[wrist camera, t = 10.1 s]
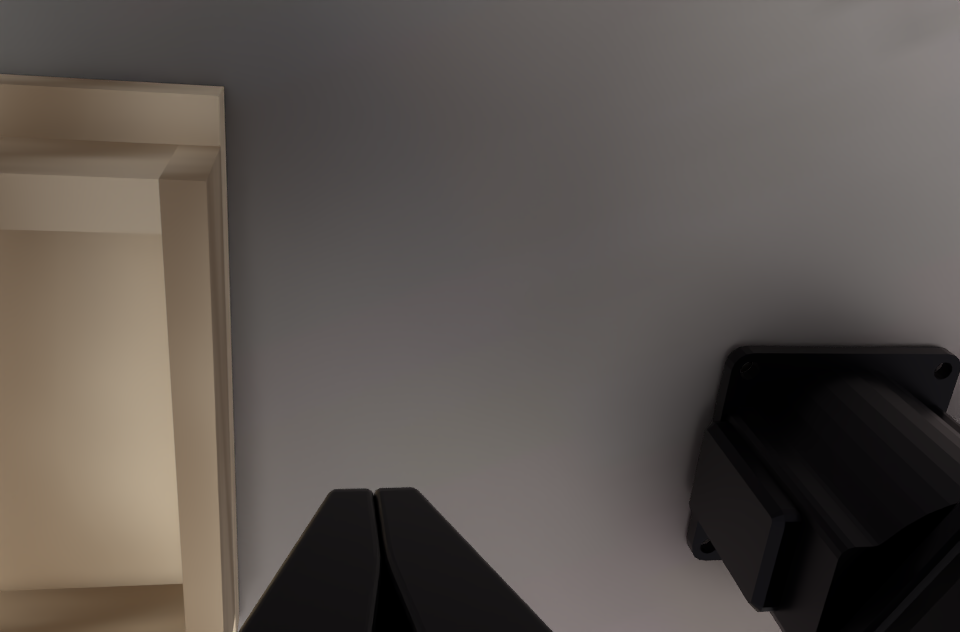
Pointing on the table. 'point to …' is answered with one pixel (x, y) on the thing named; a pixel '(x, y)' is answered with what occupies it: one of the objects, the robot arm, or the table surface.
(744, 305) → the table surface
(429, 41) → the table surface
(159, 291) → the beige flat tray
